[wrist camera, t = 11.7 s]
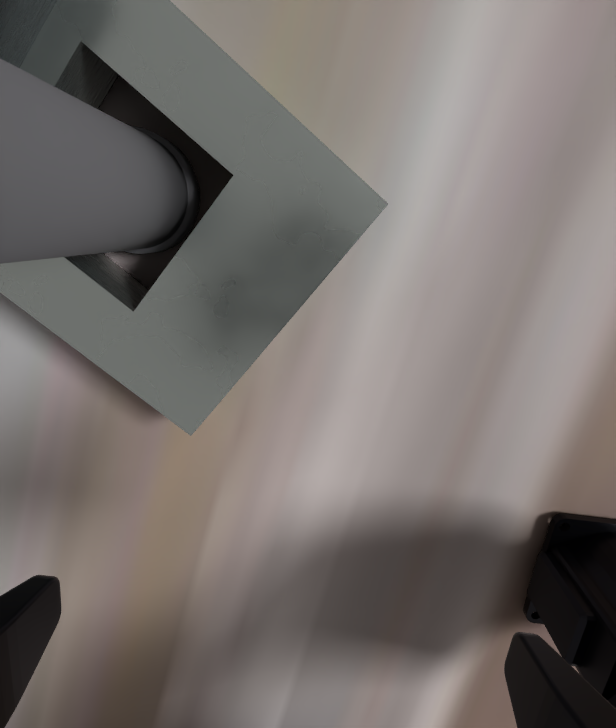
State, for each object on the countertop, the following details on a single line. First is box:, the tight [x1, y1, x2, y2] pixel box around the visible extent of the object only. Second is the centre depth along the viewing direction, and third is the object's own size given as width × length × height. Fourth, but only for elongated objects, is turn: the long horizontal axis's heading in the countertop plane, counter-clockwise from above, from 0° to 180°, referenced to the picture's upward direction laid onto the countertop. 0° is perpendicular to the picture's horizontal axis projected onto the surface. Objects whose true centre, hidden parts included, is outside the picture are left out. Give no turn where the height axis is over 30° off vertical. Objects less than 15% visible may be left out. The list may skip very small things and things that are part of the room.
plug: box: [0, 58, 200, 264], centre depth 13 cm, size 5×5×13 cm
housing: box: [0, 0, 388, 436], centre depth 16 cm, size 16×12×6 cm
